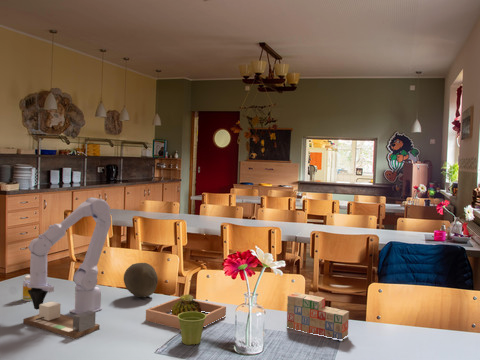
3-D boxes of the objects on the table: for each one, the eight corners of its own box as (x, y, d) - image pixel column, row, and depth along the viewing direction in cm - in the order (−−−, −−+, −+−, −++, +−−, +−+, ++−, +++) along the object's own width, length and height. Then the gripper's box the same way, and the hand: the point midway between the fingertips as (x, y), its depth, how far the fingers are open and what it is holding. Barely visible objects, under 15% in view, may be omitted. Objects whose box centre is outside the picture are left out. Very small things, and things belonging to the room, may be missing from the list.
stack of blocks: (348, 337, 164) (349, 302, 164) (341, 342, 159) (342, 306, 159) (294, 324, 176) (295, 291, 176) (286, 328, 171) (287, 295, 171)
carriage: (50, 314, 171) (51, 301, 171) (60, 316, 169) (60, 303, 169) (31, 320, 164) (31, 306, 164) (41, 323, 162) (41, 309, 162)
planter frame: (179, 306, 192) (180, 296, 192) (225, 316, 181) (226, 306, 181) (145, 320, 174) (145, 309, 174) (194, 332, 163) (194, 321, 163)
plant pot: (193, 349, 148) (194, 322, 148) (170, 342, 153) (171, 316, 153) (211, 340, 156) (211, 315, 156) (188, 334, 161) (189, 309, 161)
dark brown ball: (146, 291, 213) (146, 258, 213) (163, 298, 203) (164, 264, 202) (117, 296, 204) (118, 262, 203) (134, 304, 193) (135, 268, 193)
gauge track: (49, 315, 176) (49, 297, 176) (99, 329, 163) (99, 310, 163) (23, 323, 167) (23, 304, 166) (74, 338, 154) (74, 318, 154)
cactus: (155, 325, 170) (156, 298, 170) (172, 312, 186) (173, 287, 185) (200, 330, 166) (201, 303, 166) (214, 316, 182) (214, 291, 181)
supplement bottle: (31, 301, 192) (31, 278, 191) (19, 300, 193) (20, 277, 193) (39, 298, 197) (40, 275, 197) (28, 297, 198) (28, 274, 198)
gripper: (16, 270, 171) (15, 307, 171) (42, 276, 164) (41, 315, 164) (33, 267, 177) (32, 303, 177) (59, 272, 170) (58, 310, 170)
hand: (37, 308), depth 171 cm, fingers closed
